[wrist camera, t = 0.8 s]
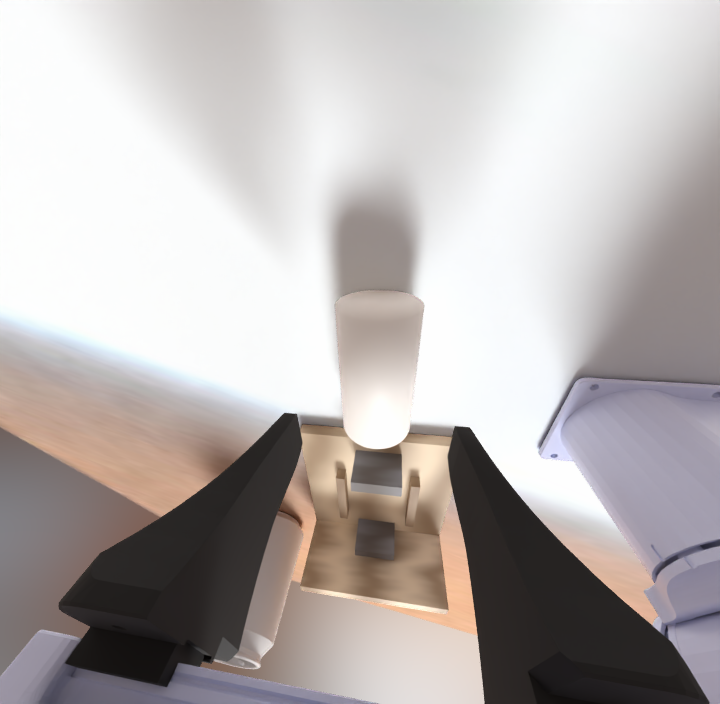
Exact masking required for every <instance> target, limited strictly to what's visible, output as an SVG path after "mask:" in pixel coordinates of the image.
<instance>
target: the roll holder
mask: <svg viewBox="0 0 720 704" xmlns="http://www.w3.org/2000/svg"><path fill="white" fill-rule="evenodd" d="M300 432H301V437H302V442H303V444H302V451H303V456H304V461H305V466H306V471H307V476H308V480H309V485H310V490H311V495H312V500H313V504H314V509H315V514H316V519H317V521H316V525H315V529H314V533H313V537H312V541H311V545H310V549H309V553H308V557H307V561H306V565H305V569H304V573H303V577H302V581H301V585H300V587H301V590H302V591H307V592H313V593H320V594H326V595H332V596H339V597H344V598H350V599H356V600H362V601H368V602H374V603H380V604H387V605H393V606H399V607H405V608H411V609H417V610H423V611H429V612H435V613H441V614H447V612H448V602H447V594H446V586H445V578H444V570H443V562H442V554H441V545H440V537H439V535H440V532H441V528H442V525H443V522H444V518H445V515H446V512H447V508H448V505H449V502H450V498H451V495H452V492H453V490H452V486H451V481H450V475H449V467H448V458H447V456H448V452H449V448H450V444H451V440H452V437H446V436H435V435H423V434H411V433H408V434H407V436H406V437H405V439H404V440H403V441H401V442H400V443H399V444H397V445H395V446H392V447H389V448H385V449H371V448H366V447H363V446H361V445H359V444H357V443H355V442H354V441H353V440H351V439H350V437H349V436H348V435H347V433H346V431H345V429H344V428H341V427H329V426H317V425H306V424H302V426H301V428H300Z"/></svg>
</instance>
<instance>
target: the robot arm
mask: <svg viewBox="0 0 720 704" xmlns="http://www.w3.org/2000/svg"><path fill="white" fill-rule="evenodd" d="M592 385H593V386H592ZM302 444H303V442H302V437H301V432H300V427H299V422H298V417H297V414H290V413H284V414H283V415H282V416H281V417H280V418H279V419H278V420H277V421H276V422H275V423H274V424H273V425H272V426H271V427H270V428H269V429H268V430H267V431H266V432H265V433H264V434H263V436H262V437H261V438H259V439H258V440H257V441H256V442H255V443H254V444H253V445H252V446H251V447H250V448H249V449H248V450H247V451H246V452H245V453H244V454H243V455H242V456H241V457H240V458H239V459H237V460H236V461H235V462H234V463H233V464H232V465H231V466H230V467H229V468H227V469H226V470H225V471H224V472H223V473H221V474H220V475H219V476H218V477H217V478H215V479H214V480H213V481H212V482H210V483H209V484H208V485H206V486H205V487H204V488H203V489H201V490H200V491H198V492H197V493H196V494H194V495H193V496H192V497H190V498H189V499H187V500H186V501H185V502H183V503H182V504H180V505H179V506H178V507H176V508H175V509H173V510H172V511H170V512H168V513H167V514H165V515H164V516H162V517H161V518H159V519H158V520H156V521H155V522H153V523H151V524H150V525H148V526H147V527H145V528H143V529H142V530H140V531H139V532H137V533H135V534H133V535H132V536H130V537H128V538H126V539H124V540H123V541H121V542H119V543H117V544H116V545H114V546H112V547H110V548H109V549H107V550H105V551H103V552H101V553H100V554H99V555H98V557H97V558H96V559H95V560H94V561H93V562H92V563H91V565H90V566H89V567H88V568H87V569H86V571H85V572H84V573H83V574H82V576H81V577H80V578H79V579H78V580H77V581H76V583H75V584H74V585H73V586H72V588H71V589H70V590H69V591H68V592H67V593H66V595H65V596H64V597H63V598H62V599H61V601H60V602H59V609H60V610H61V611H62V612H63V613H65V614H67V615H69V616H71V617H73V618H75V619H77V620H78V621H80V622H82V623H84V624H86V625H88V626H90V629H89V630H88V631H87V633H86V634H85V636H84V637H83V638H82V639H81V638H78V637H75V636H71V635H66V634H61V633H56V632H51V631H46V630H40V631H38V632H37V633H36V634H35V635H34V636H33V638H32V639H31V640H30V641H29V643H28V644H27V645H26V646H25V647H24V649H23V650H22V651H21V652H20V653H19V655H18V656H17V657H16V658H15V659H14V661H13V662H12V663H11V664H10V666H9V667H8V668H7V669H6V670H5V672H4V673H3V674H2V675H1V676H0V704H378V703H373V702H368V701H363V700H358V699H353V698H349V697H344V696H339V695H334V694H329V693H324V692H319V691H314V690H310V689H305V688H300V687H295V686H290V685H285V684H280V683H275V682H271V681H266V680H261V679H256V678H251V677H246V676H241V675H236V674H231V673H226V672H221V671H217V670H212V669H207V668H202V667H200V665H201V663H202V662H206V663H211V664H212V662H213V661H214V659H215V660H220V661H225V662H228V661H229V660H230V659H232V658H233V657H234V656H235V655H236V654H237V652H238V651H239V648H240V644H241V640H242V635H243V631H244V627H245V623H246V619H247V615H248V611H249V607H250V603H251V600H252V596H253V592H254V588H255V585H256V581H257V577H258V574H259V570H260V567H261V563H262V560H263V556H264V553H265V549H266V546H267V543H268V540H269V536H270V533H271V530H272V527H273V523H274V521H275V518H276V515H277V513H278V510H279V508H280V505H281V503H282V500H283V498H284V495H285V493H286V490H287V488H288V486H289V483H290V481H291V478H292V476H293V473H294V471H295V468H296V465H297V462H298V459H299V455H300V452H301V448H302ZM538 453H539V455H540V456H541V458H544V459H552V460H563V461H574V463H575V464H576V466H577V467H578V469H579V470H580V472H581V473H582V475H583V476H584V478H585V479H586V481H587V482H588V484H589V485H590V487H591V488H592V490H593V491H594V493H595V494H596V496H597V497H598V499H599V500H600V502H601V503H602V505H603V506H604V508H605V509H606V511H607V512H608V514H609V515H610V517H611V518H612V520H613V521H614V523H615V524H616V526H617V527H618V529H619V530H620V532H621V533H622V535H623V536H624V538H625V539H626V541H627V542H628V544H629V545H630V547H631V548H632V550H633V551H634V553H635V554H636V556H637V557H638V559H639V560H640V562H641V563H642V565H643V566H644V568H645V569H646V571H647V572H648V574H649V575H650V577H651V578H652V580H653V581H654V583H655V584H654V585H653V586H651V587H650V588H648V589H645V590H644V593H645V595H646V596H647V598H648V600H649V601H650V603H651V604H652V606H653V608H654V609H655V611H656V612H657V614H658V617H657V618H656V619H655V620H654V622H653V625H651V624H650V623H649V622H647V621H646V620H645V619H644V618H643V617H642V616H640V615H639V614H638V613H637V612H636V611H634V610H633V609H632V608H631V607H630V606H629V605H627V604H626V603H625V602H624V601H623V600H622V599H620V598H619V597H618V596H617V595H616V594H615V593H614V592H613V591H612V590H611V589H609V588H608V587H607V586H606V585H605V584H604V583H603V582H602V581H601V580H600V579H598V578H597V577H596V576H595V575H594V574H593V573H592V572H591V571H590V570H589V569H588V568H587V567H586V566H585V565H584V564H583V563H582V562H581V561H580V560H579V559H578V558H577V557H576V556H575V555H574V554H573V553H571V552H570V551H569V550H568V549H567V548H566V547H565V546H564V545H563V544H562V543H561V542H560V541H559V540H558V539H557V537H556V536H555V535H554V534H553V533H552V532H551V531H550V530H549V529H548V528H547V527H546V526H545V525H544V524H543V523H542V522H541V520H540V519H539V518H538V517H537V516H536V515H535V514H534V513H533V512H532V510H531V509H530V508H529V507H528V506H527V505H526V503H525V502H524V501H523V500H522V499H521V497H520V496H519V495H518V494H517V492H516V491H515V490H514V489H513V488H512V486H511V485H510V484H509V482H508V481H507V480H506V479H505V477H504V476H503V475H502V473H501V472H500V471H499V469H498V468H497V467H496V465H495V464H494V462H493V461H492V460H491V458H490V457H489V455H488V454H487V453H486V451H485V450H484V448H483V447H482V445H481V444H480V442H479V441H478V439H477V438H476V436H475V435H474V433H473V431H472V430H471V429H470V428H469V427H457V426H455V428H454V432H453V436H452V440H451V444H450V448H449V452H448V456H447V458H448V467H449V475H450V481H451V486H452V490H453V494H454V499H455V503H456V507H457V511H458V516H459V520H460V524H461V528H462V532H463V537H464V542H465V547H466V553H467V559H468V566H469V573H470V580H471V587H472V594H473V602H474V609H475V618H476V626H477V634H478V642H479V652H480V660H481V670H482V679H483V690H484V701H485V704H720V385H709V384H691V383H673V382H655V381H637V380H619V379H601V378H581V379H579V380H577V381H576V382H575V384H574V386H573V387H572V389H571V391H570V393H569V395H568V397H567V399H566V401H565V402H564V404H563V406H562V408H561V410H560V412H559V414H558V416H557V418H556V419H555V421H554V423H553V425H552V427H551V429H550V431H549V433H548V435H547V436H546V438H545V440H544V442H543V444H542V446H541V448H540V450H539V452H538Z"/></svg>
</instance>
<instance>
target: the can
mask: <svg viewBox="0 0 720 704" xmlns="http://www.w3.org/2000/svg"><path fill="white" fill-rule="evenodd" d="M302 540H303V532H302V530H301V528H300V525H299V523H298V521H297V520H295V519H294V518H293V517H291V516H290V515H288V514H285V513H283V512H279V511H278V513H277V515H276V518H275V521H274V523H273V527H272V530H271V533H270V536H269V540H268V543H267V546H266V549H265V553H264V556H263V560H262V563H261V567H260V570H259V574H258V577H257V581H256V585H255V588H254V592H253V596H252V600H251V603H250V607H249V611H248V615H247V619H246V623H245V627H244V631H243V635H242V640H241V644H240V648H239V651H238V652H237V654H236V655H235V656H234V657H233V658H232V659H230V660H229V661H228V662H225V661H220V660H215V659H214V661H216V662H220V663H223V664H227V665H231V666H235V667H241V668H247V669H258V668H259V667H260V666H261V664H260V660H261V657H262V656H263V655H264V654H265V653H266V652H267V651H268V650H269V649H270V648H271V647H272V646H273V644H274V640H275V637H276V633H277V629H278V626H279V622H280V619H281V615H282V612H283V608H284V605H285V601H286V597H287V594H288V590H289V586H290V583H291V579H292V576H293V572H294V568H295V565H296V561H297V558H298V554H299V550H300V547H301V543H302Z"/></svg>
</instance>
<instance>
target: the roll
mask: <svg viewBox="0 0 720 704" xmlns="http://www.w3.org/2000/svg"><path fill="white" fill-rule="evenodd" d="M423 312H424V303H423V302H422V301H421V300H420V299H419V298H417V297H416V296H413V295H411V294H408V293H404V292H399V291H392V290H365V291H359V292H354V293H350V294H347V295H345V296H343V297H341V298H339V299H338V300H337V301H336V303H335V313H336V327H337V340H338V354H339V368H340V381H341V395H342V409H343V423H344V429H345V431H346V433H347V435H348V436H349V437H350V439H351V440H353V441H354V442H355V443H357V444H359V445H361V446H363V447H366V448H371V449H385V448H389V447H392V446H395V445H397V444H399V443H400V442H401V441H403V440H404V439H405V437H406V436H407V434H408V432H409V429H410V421H411V413H412V405H413V396H414V388H415V379H416V371H417V362H418V354H419V346H420V337H421V329H422V320H423Z"/></svg>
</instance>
